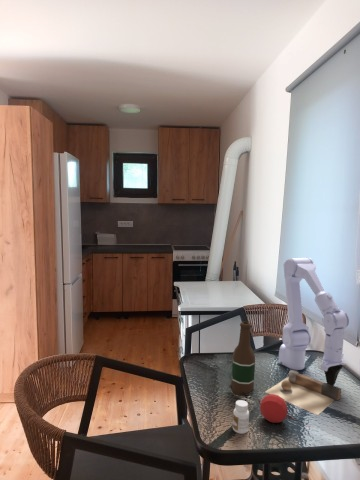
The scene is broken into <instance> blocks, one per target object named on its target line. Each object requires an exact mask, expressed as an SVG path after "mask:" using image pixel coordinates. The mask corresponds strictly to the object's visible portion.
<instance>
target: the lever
mask: <svg viewBox="0 0 360 480" xmlns="http://www.w3.org/2000/svg"><path fill="white" fill-rule="evenodd" d="M288 377H289V381H290V382H292V383H296V384H299V385H301V386H304V387H306V388H309V389H311V390H314V391H316V392H319V393H321V394H323V395H325V396H328V397H330V398H333V399H335V400H334V401H339V400H340V399H341V396H342V395H341V394H342V389H341V388H340V387H337V386H336V385H334V386H333V385H330V384H327V382H323V381H320V380H318V379H315V378H313V377H310V376H307V375H304V374H302V373H299V371H298V370H295V369H290V370H289V371H288Z"/></svg>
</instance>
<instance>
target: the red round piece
mask: <svg viewBox="0 0 360 480" xmlns="http://www.w3.org/2000/svg"><path fill="white" fill-rule="evenodd" d="M259 406H260V407H259V409H260V413H261V415H262V416H263V417H264V418H263V419H266V420H267V421H268V422H270V423H274V424H275V423H276V424H278V423H282V422H283V421H284V420H285V419H286V418H287V415H288V412H289V410H288V406H287V402H286V401H284V399H283V398H281V397H280V396H278V395H274V394H266V396H264V397H263V398H262V399H261V401H260V405H259Z"/></svg>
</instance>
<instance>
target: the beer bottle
mask: <svg viewBox="0 0 360 480" xmlns="http://www.w3.org/2000/svg"><path fill="white" fill-rule="evenodd" d="M239 326H240V331H239V332H240V333H239V340H238V344H237V346H236V347H235V348H234V350H233V353H232V361H231V364H232V365H231V379H230V381H231V382H230V384H231V393H232V394H233V395H236V396H238V397H249V396H250V395H248V394H246V393H250V392H252V391H254V389H255V388H254V386H255V371H256V370H255V368H256V355H255V353H254V350H253V348H252V345H251V328H252V325H251V322H249V321H241V322H240V324H239Z"/></svg>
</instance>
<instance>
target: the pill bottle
mask: <svg viewBox="0 0 360 480" xmlns="http://www.w3.org/2000/svg"><path fill="white" fill-rule="evenodd" d="M232 412H233V414H232V415H233V416H232V430H233V431H234V432H235V433H237V434H241V435H242V434H246V433H248V431H249V427H250V426H249V425H250V424H249V423H250V411H249V403H248V402H247V401H245V400H244V399H238V400H236V401H235V407H234V409H233V411H232Z"/></svg>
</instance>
